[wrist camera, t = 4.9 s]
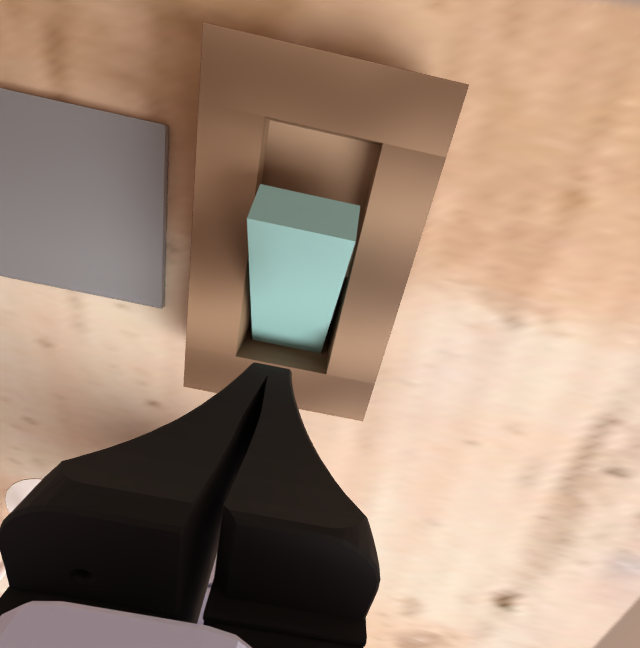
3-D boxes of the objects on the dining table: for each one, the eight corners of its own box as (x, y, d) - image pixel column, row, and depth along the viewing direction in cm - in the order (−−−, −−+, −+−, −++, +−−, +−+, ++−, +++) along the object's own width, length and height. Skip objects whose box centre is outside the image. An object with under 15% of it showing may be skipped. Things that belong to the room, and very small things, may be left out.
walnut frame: (358, 380, 23) (362, 421, 20) (209, 350, 23) (183, 386, 19) (439, 104, 17) (469, 84, 13) (233, 56, 17) (203, 21, 13)
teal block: (325, 324, 21) (320, 353, 20) (260, 311, 21) (252, 339, 20) (360, 205, 14) (355, 241, 13) (260, 183, 14) (246, 218, 13)
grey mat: (164, 306, 22) (161, 308, 21) (0, 272, 21) (-5, 274, 21) (168, 125, 18) (165, 124, 17) (-33, 81, 17) (-40, 79, 17)
